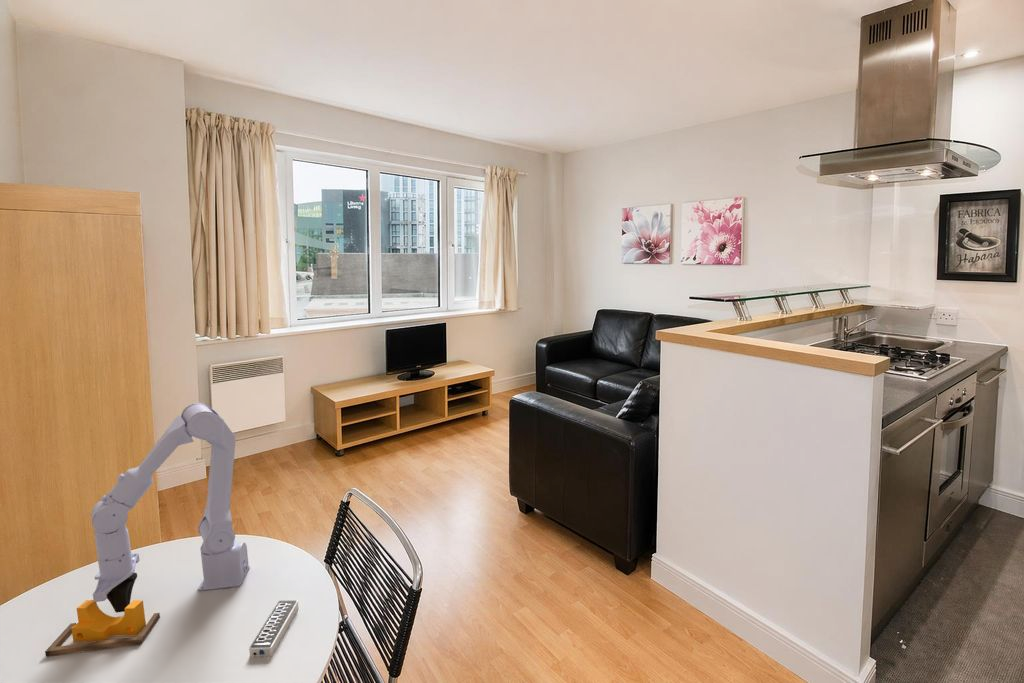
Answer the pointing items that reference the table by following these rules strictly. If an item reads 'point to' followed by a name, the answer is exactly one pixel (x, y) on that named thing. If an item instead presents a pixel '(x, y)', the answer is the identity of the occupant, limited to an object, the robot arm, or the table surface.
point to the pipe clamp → (107, 622)
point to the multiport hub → (274, 629)
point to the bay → (99, 645)
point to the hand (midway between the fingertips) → (122, 610)
